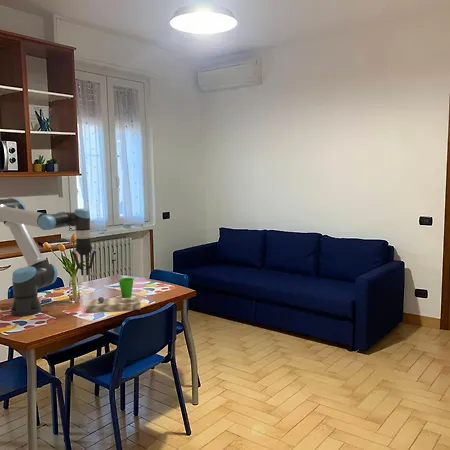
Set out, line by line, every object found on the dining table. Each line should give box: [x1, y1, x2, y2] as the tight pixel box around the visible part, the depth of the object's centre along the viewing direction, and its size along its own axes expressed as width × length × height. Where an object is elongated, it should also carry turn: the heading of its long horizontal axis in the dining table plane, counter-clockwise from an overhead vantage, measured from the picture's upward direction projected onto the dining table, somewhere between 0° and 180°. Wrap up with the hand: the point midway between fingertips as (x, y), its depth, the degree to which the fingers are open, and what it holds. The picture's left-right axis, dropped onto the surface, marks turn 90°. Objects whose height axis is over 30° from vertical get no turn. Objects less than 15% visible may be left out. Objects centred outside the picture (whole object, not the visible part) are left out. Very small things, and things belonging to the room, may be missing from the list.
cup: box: [118, 277, 135, 298], centre depth 275 cm, size 9×9×11 cm
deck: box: [86, 296, 142, 313], centre depth 255 cm, size 28×12×4 cm, turn 100°
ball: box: [98, 296, 105, 303], centre depth 253 cm, size 3×3×3 cm
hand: (85, 281), depth 250 cm, fingers closed
